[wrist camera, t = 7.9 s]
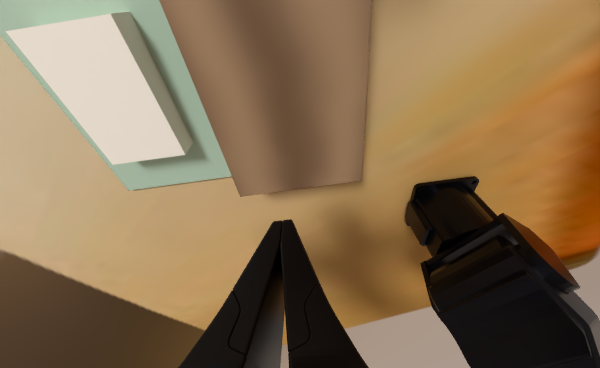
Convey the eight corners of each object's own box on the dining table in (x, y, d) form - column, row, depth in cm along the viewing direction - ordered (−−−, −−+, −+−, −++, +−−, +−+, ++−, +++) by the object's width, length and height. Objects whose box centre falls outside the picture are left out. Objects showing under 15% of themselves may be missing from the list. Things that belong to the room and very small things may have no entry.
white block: (5, 31, 12) (36, 27, 14) (112, 164, 18) (126, 151, 20) (110, 13, 12) (130, 11, 14) (185, 154, 18) (193, 142, 20)
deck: (354, -121, 11) (381, -164, 8) (350, 153, 21) (361, 180, 18) (158, -83, 12) (113, -110, 9) (246, 168, 22) (240, 196, 19)
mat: (153, -98, 11) (150, -100, 11) (248, 172, 22) (247, 174, 22) (-69, -55, 12) (-76, -56, 12) (130, 188, 23) (128, 190, 23)
